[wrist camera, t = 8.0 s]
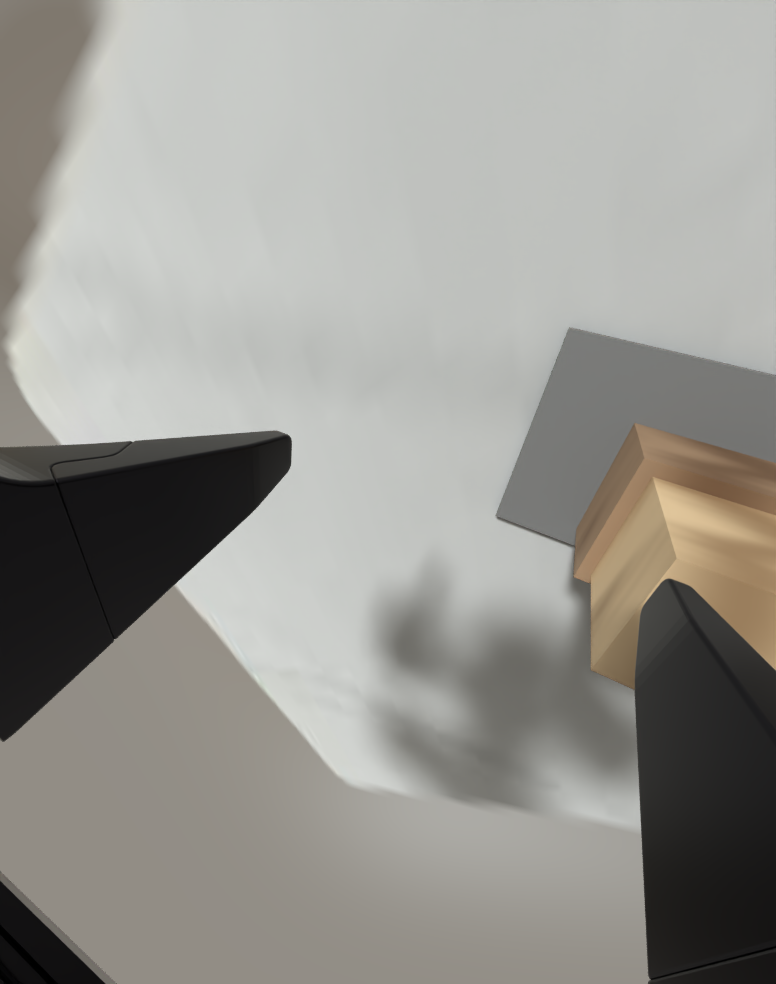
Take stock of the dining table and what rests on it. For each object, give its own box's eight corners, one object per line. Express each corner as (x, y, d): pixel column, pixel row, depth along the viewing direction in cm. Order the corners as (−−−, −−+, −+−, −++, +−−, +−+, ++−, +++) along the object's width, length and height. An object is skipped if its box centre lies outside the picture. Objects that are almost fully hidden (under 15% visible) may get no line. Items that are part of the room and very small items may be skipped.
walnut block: (797, 469, 15) (850, 520, 12) (705, 576, 19) (728, 638, 15) (634, 422, 17) (644, 457, 14) (576, 528, 20) (573, 576, 17)
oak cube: (819, 529, 13) (923, 647, 9) (722, 626, 15) (768, 750, 11) (652, 476, 14) (676, 558, 10) (590, 575, 17) (590, 669, 13)
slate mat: (924, 409, 13) (932, 413, 13) (736, 602, 19) (739, 608, 19) (569, 327, 17) (568, 328, 16) (496, 512, 22) (495, 516, 22)
